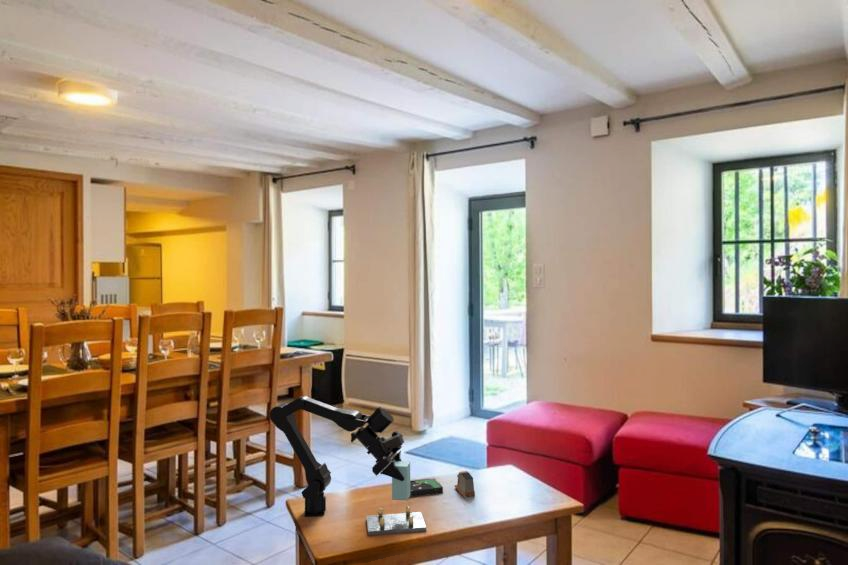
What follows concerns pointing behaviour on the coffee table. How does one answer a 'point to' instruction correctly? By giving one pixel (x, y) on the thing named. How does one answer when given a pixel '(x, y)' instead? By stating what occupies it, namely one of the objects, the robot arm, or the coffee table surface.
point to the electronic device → (465, 484)
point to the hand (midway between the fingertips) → (405, 477)
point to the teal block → (401, 482)
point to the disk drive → (425, 487)
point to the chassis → (395, 522)
